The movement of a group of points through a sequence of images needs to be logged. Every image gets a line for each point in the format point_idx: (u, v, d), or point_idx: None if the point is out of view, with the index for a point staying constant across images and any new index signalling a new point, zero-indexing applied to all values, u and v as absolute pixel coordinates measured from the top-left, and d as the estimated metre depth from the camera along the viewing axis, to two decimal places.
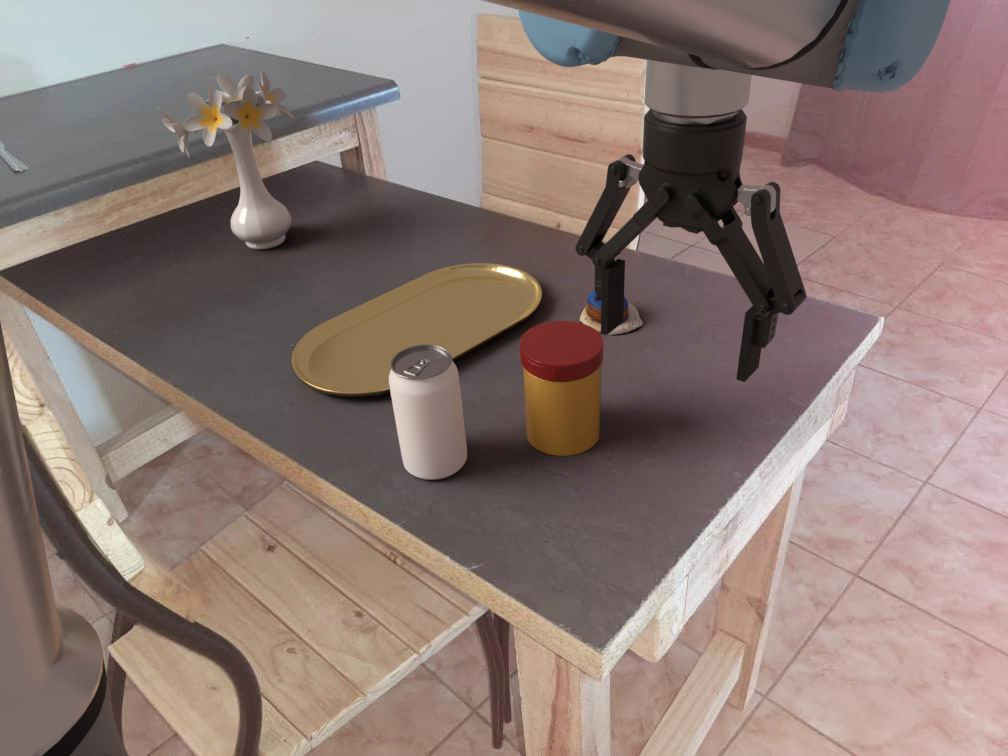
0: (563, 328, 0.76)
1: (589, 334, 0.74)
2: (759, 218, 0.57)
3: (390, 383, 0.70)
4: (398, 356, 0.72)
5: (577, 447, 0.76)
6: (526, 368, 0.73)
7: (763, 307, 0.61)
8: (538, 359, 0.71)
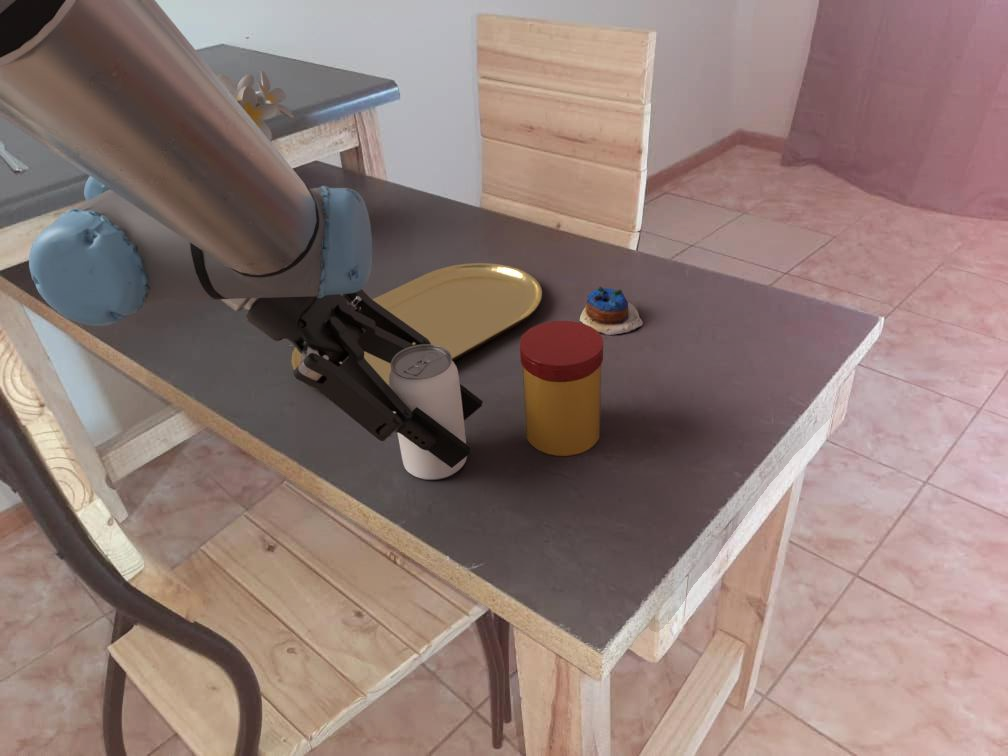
0: (563, 328, 0.76)
1: (589, 334, 0.74)
2: (366, 298, 0.74)
3: (390, 383, 0.70)
4: (398, 356, 0.72)
5: (577, 447, 0.76)
6: (526, 368, 0.73)
7: None
8: (538, 359, 0.71)
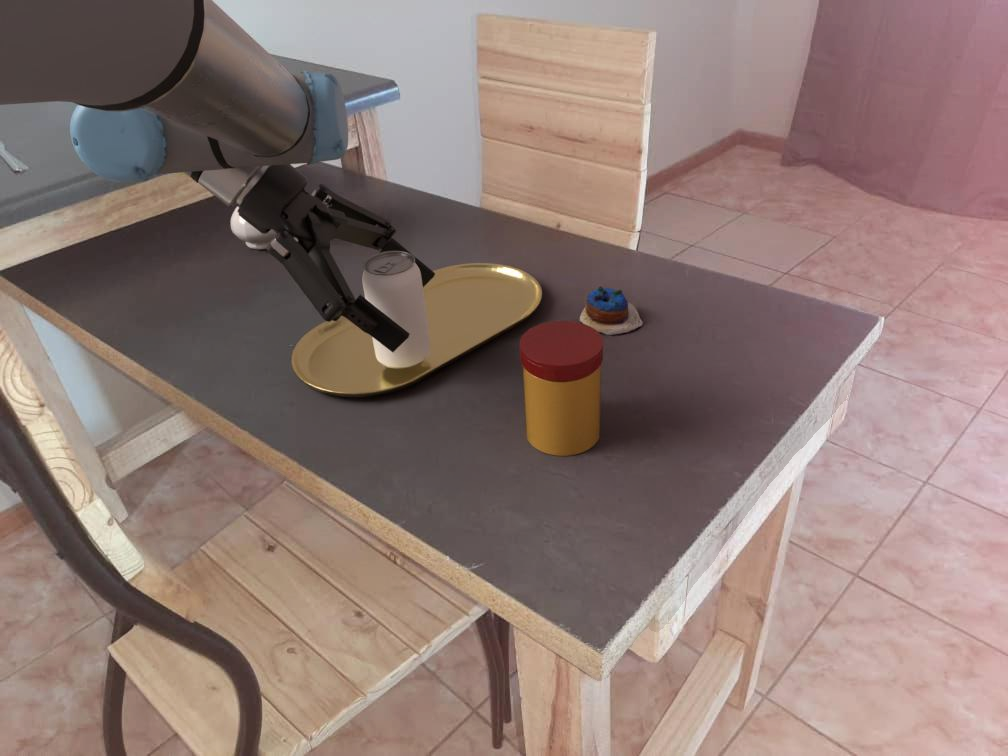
0: (563, 328, 0.76)
1: (589, 334, 0.74)
2: (334, 195, 0.87)
3: (363, 281, 0.84)
4: (370, 260, 0.85)
5: (577, 447, 0.76)
6: (526, 368, 0.73)
7: (387, 230, 0.90)
8: (538, 359, 0.71)
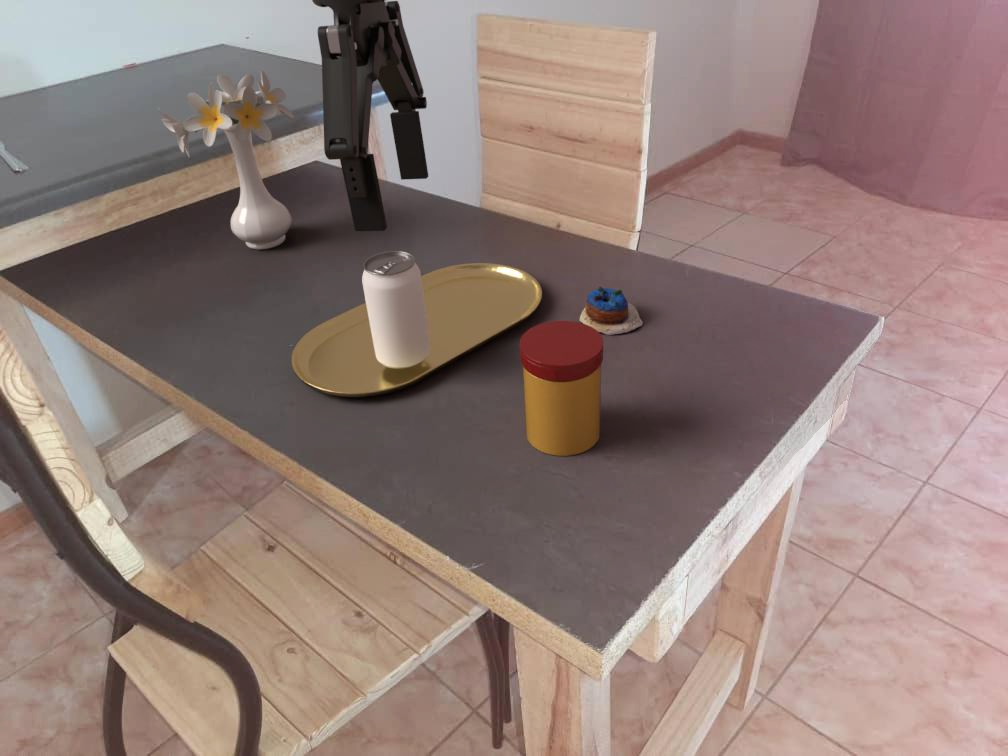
0: (563, 328, 0.76)
1: (589, 334, 0.74)
2: (400, 24, 0.71)
3: (363, 281, 0.84)
4: (370, 260, 0.85)
5: (577, 447, 0.76)
6: (526, 368, 0.73)
7: (418, 100, 0.76)
8: (538, 359, 0.71)
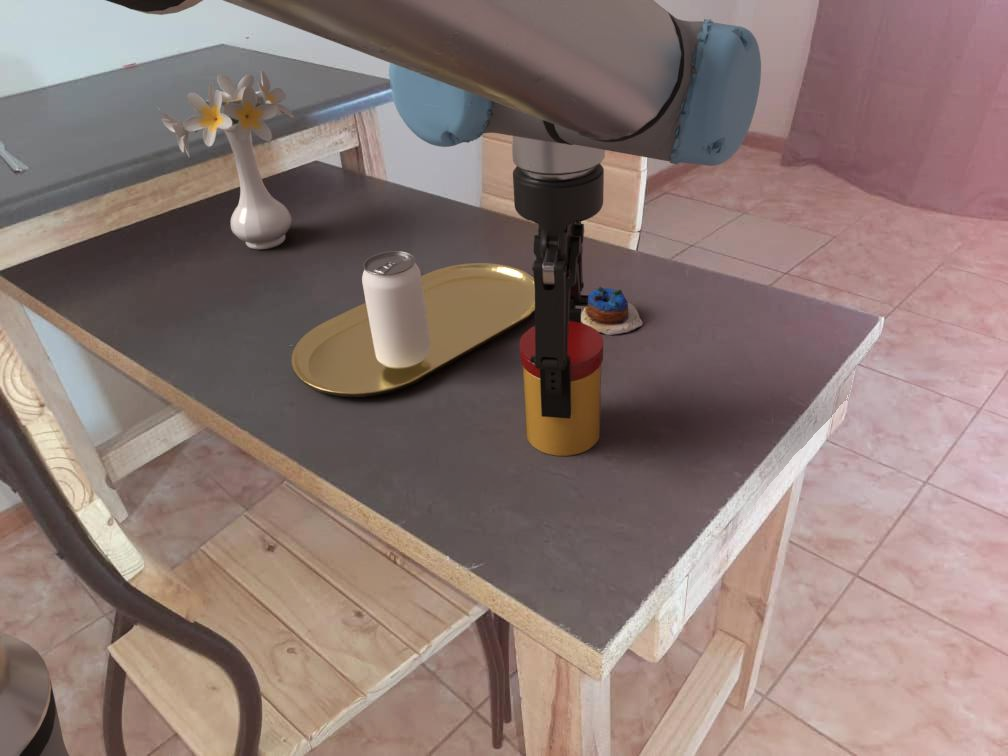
0: None
1: (589, 334, 0.74)
2: (580, 222, 0.73)
3: (363, 281, 0.84)
4: (370, 260, 0.85)
5: (577, 447, 0.76)
6: (526, 368, 0.73)
7: (581, 297, 0.77)
8: None
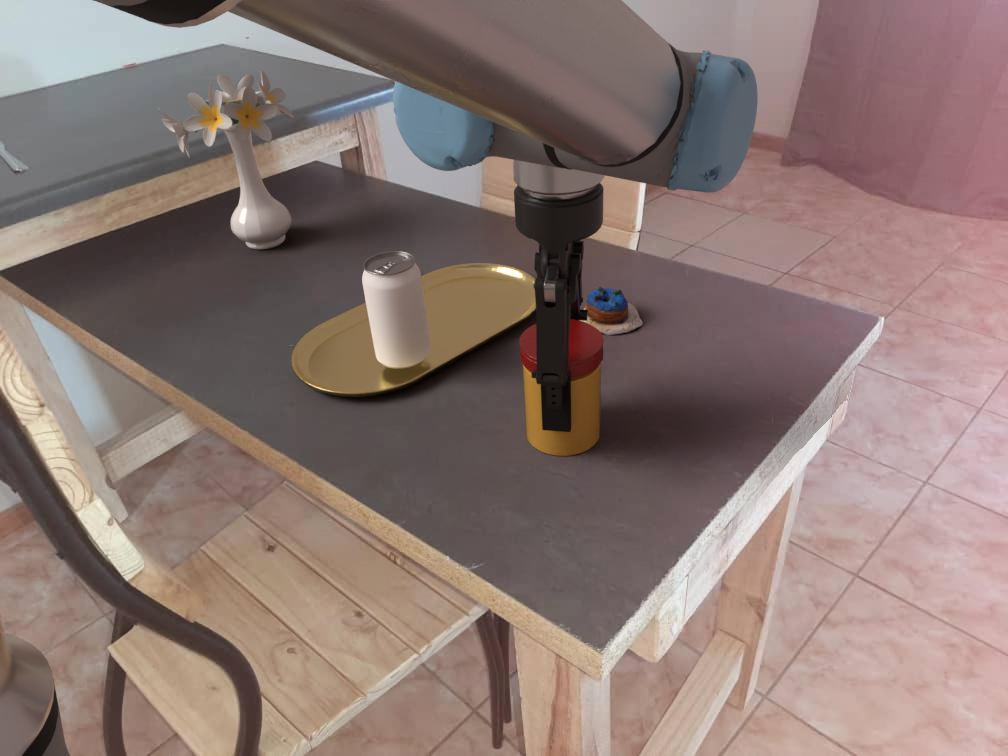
0: None
1: None
2: None
3: (363, 281, 0.84)
4: (370, 260, 0.85)
5: (577, 447, 0.76)
6: (580, 374, 0.71)
7: (580, 312, 0.78)
8: (591, 353, 0.71)
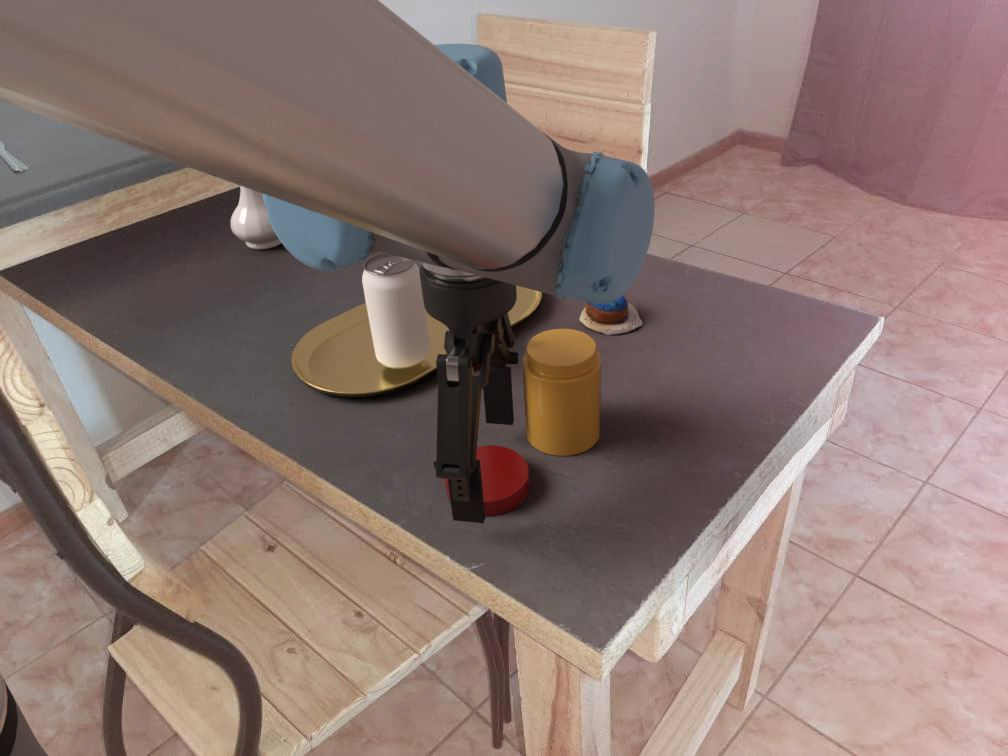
0: None
1: (479, 452, 0.75)
2: None
3: (363, 281, 0.84)
4: (370, 260, 0.85)
5: (577, 447, 0.76)
6: (503, 510, 0.71)
7: (510, 355, 0.74)
8: (514, 490, 0.71)
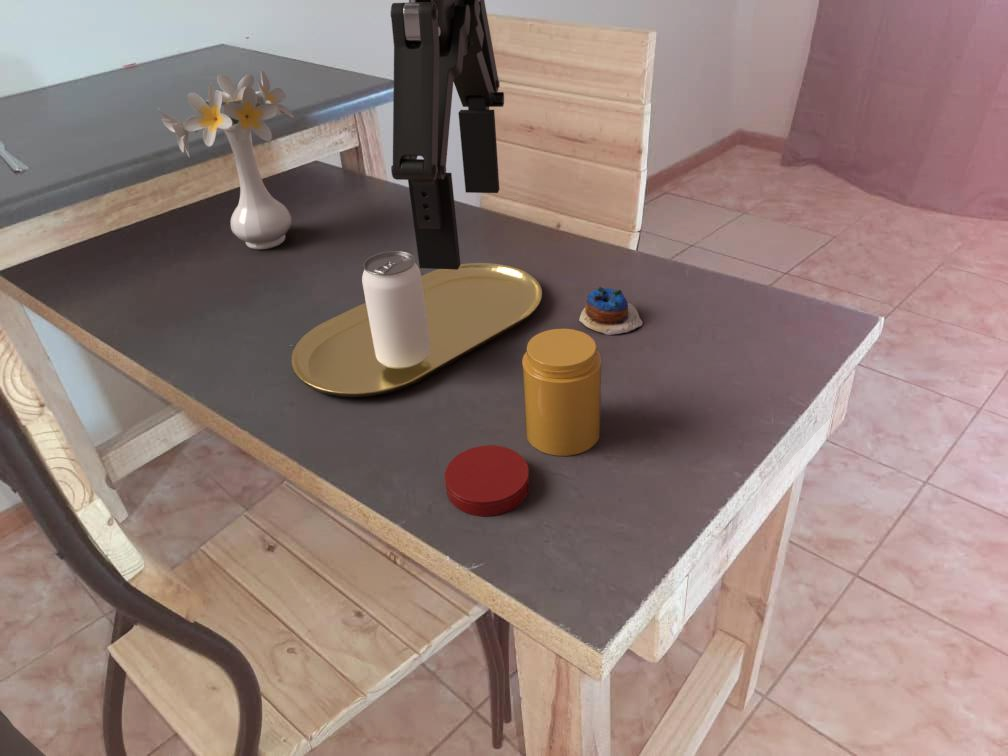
0: (462, 468, 0.73)
1: (479, 452, 0.75)
2: None
3: (363, 281, 0.84)
4: (370, 260, 0.85)
5: (577, 447, 0.76)
6: (503, 510, 0.71)
7: (494, 95, 0.60)
8: (514, 490, 0.71)
